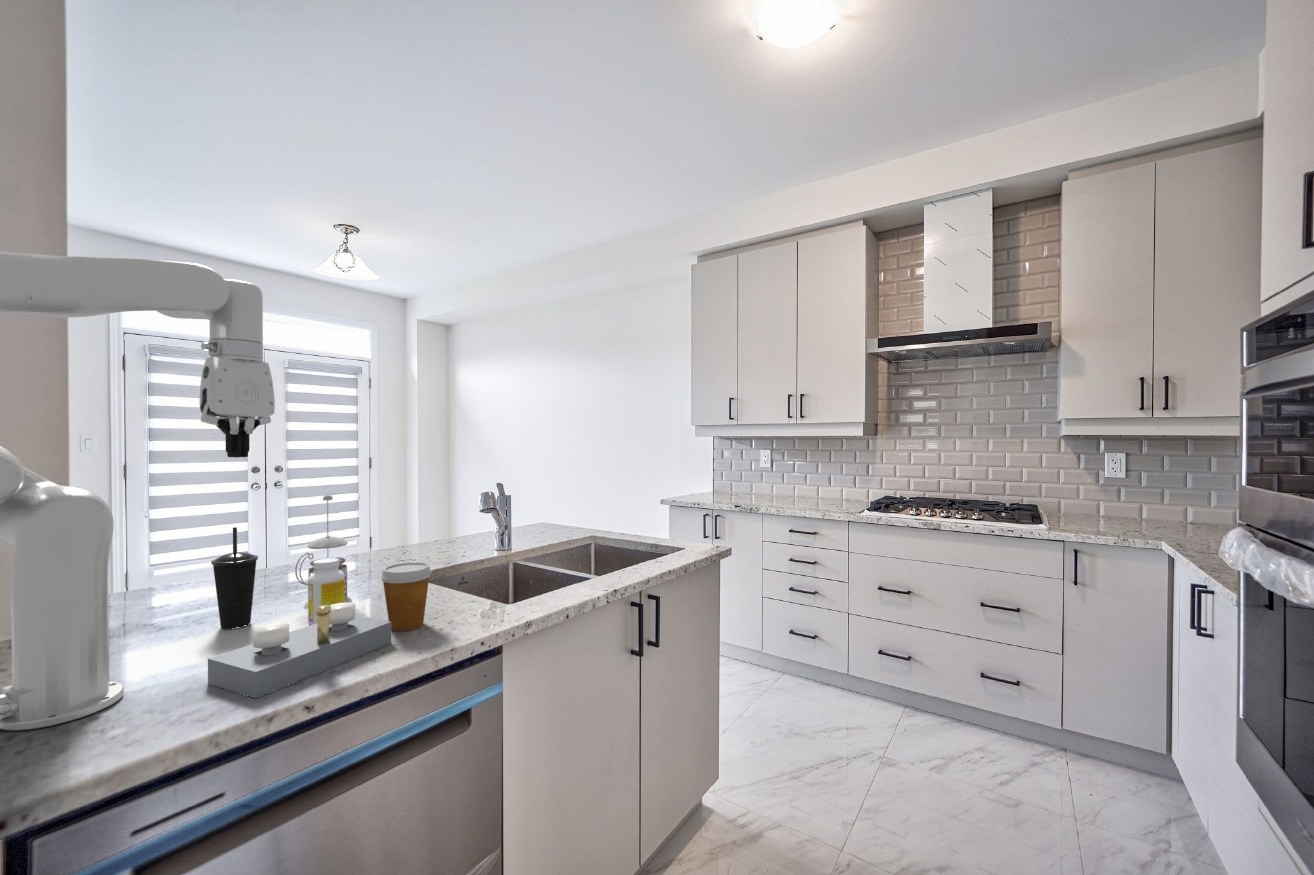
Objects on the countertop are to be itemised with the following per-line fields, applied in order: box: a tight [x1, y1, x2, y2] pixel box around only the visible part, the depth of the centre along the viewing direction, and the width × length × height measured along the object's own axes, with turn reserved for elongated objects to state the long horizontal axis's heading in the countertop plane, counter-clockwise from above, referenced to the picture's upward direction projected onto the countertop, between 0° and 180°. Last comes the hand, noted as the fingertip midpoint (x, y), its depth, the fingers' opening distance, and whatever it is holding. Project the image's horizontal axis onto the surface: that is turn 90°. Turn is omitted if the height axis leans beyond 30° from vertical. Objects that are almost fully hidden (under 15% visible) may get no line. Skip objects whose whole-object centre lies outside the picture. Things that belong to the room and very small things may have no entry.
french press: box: [294, 494, 353, 609], centre depth 129 cm, size 10×12×25 cm
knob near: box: [252, 622, 290, 657], centre depth 91 cm, size 5×5×7 cm
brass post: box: [316, 605, 331, 644], centre depth 95 cm, size 2×2×6 cm
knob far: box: [329, 602, 356, 632], centre depth 102 cm, size 5×5×7 cm
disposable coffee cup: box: [379, 561, 432, 632], centre depth 114 cm, size 10×10×12 cm
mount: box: [207, 614, 392, 699], centre depth 96 cm, size 24×12×4 cm, turn 156°
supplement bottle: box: [307, 557, 345, 626], centre depth 117 cm, size 7×7×13 cm
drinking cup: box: [210, 526, 259, 630], centre depth 114 cm, size 8×8×20 cm
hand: (237, 456), depth 99 cm, fingers closed
